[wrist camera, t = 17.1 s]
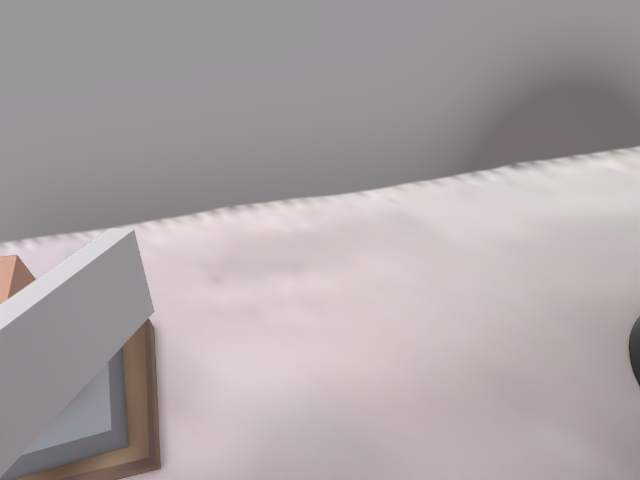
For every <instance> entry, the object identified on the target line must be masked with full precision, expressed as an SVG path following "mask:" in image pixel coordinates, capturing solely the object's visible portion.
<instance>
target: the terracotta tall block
mask: <svg viewBox="0 0 640 480" xmlns="http://www.w3.org/2000/svg"><path fill="white" fill-rule="evenodd" d="M35 280H36V279H35V278H34V276H33V275H32V274H31V272H30V271H29V270H28V268H27V267H26V266H25V265H24V263H23V262H22V261H21V259H20V258H19V257H18V256H17V255H11V256H2V257H0V304H2V303H3V302H5V301H6V300H8V299H9V298H10V297H12V296H13V295H15V294H16V293H18V292H19V291H20V290H22V289H23V288H25V287H26V286H28V285H29V284H31V283H32V282H33V281H35ZM70 403H71V402H70Z"/></svg>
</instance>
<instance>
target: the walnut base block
mask: <svg viewBox="0 0 640 480" xmlns="http://www.w3.org/2000/svg"><path fill="white" fill-rule="evenodd" d="M122 348H123V363H124V378H125V393H126V407H127V422H128V437H129V447H126V448H122V449H119V450H115V451H112V452H108V453H105V454H101V455H98V456H94V457H91V458H87V459H84V460H81V461H77V462H74V463H70V464H67V465H63V466H60V467H56V468H53V469H49V470H46V471H42V472H39V473H36V474H32V475H29V476H25V477H22V478H18V479H15V480H117V479H121V478H125V477H129V476H133V475H137V474H142V473H146V472H150V471H154V470H158V469H161V467H160V445H159V424H158V402H157V380H156V359H155V337H154V327H153V325H152V323H151V321H150V320H149V318H148V319H147V320H146V321H145V322H144V323H143V324H142V326H141V327H140V328H139V329H138V330H137V331H136V332H135V333H134V334H133V335H132V336H131V337H130V338H129V340H128V341H127V342H126V343H125V344H124V345H123V346H122Z"/></svg>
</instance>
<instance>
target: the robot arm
mask: <svg viewBox="0 0 640 480" xmlns="http://www.w3.org/2000/svg"><path fill="white" fill-rule="evenodd" d="M153 313H154V308H153V304H152V300H151V296H150V292H149V288H148V284H147V280H146V276H145V272H144V268H143V264H142V260H141V256H140V252H139V248H138V244H137V240H136V236H135V232H134V230H133V229H115V228H110V229H108V230H107V231H105V232H104V233H102V234H101V235H100V236H98V237H97V238H95V239H94V240H92V241H91V242H89V243H88V244H87V245H85V246H84V247H82V248H81V249H79V250H78V251H77V252H75V253H74V254H72V255H71V256H69V257H68V258H66V259H65V260H64V261H62V262H61V263H59V264H58V265H56V266H55V267H54V268H52V269H51V270H49V271H48V272H46V273H45V274H43V275H42V276H41V277H39V278H38V279H36V280H35V281H33V282H32V283H31V284H29V285H28V286H26V287H25V288H23V289H22V290H20V291H19V292H18V293H16V294H15V295H13V296H12V297H10V298H9V299H8V300H6V301H5V302H3V303H2V304H0V478H1V476H2V475H3V474H4V473H5V472H6V471H7V470H8V469H9V468H10V467H11V466H12V465H13V463H14V462H15V461H16V460H17V459H18V458H19V457H20V456H21V455H22V454H23V453H24V452H25V451H26V449H27V448H28V447H29V446H30V445H31V444H32V443H33V442H34V441H35V440H36V439H37V438H38V437H39V435H40V434H41V433H42V432H43V431H44V430H45V429H46V428H47V427H48V426H49V425H50V424H51V423H52V421H53V420H54V419H55V418H56V417H57V416H58V415H59V414H60V413H61V412H62V411H63V410H64V409H65V407H66V406H67V405H68V404H69V403H70V402H71V401H72V400H73V399H74V398H75V397H76V396H77V395H78V393H79V392H80V391H81V390H82V389H83V388H84V387H85V386H86V385H87V384H88V383H89V382H90V380H91V379H92V378H93V377H94V376H95V375H96V374H97V373H98V372H99V371H100V370H101V369H102V368H103V366H104V365H105V364H106V363H107V362H108V361H109V360H110V359H111V358H112V357H113V356H114V355H115V354H116V352H117V351H118V350H119V349H120V348H121V347H122V346H123V345H124V344H125V343H126V342H127V341H128V340H129V338H130V337H131V336H132V335H133V334H134V333H135V332H136V331H137V330H138V329H139V328H140V327H141V326H142V324H143V323H144V322H145V321H146V320H147V319H148V318H149V317H150V316H151V315H152V314H153ZM630 356H631V362H632V365H633V369H634V372H635V374H636V377H637V379H638V381H639V383H640V317H639V318H638V319H637V321H636V323H635V325H634V327H633V329H632V332H631V336H630Z"/></svg>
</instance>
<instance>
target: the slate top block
mask: <svg viewBox="0 0 640 480" xmlns="http://www.w3.org/2000/svg"><path fill="white" fill-rule="evenodd" d="M126 447H129V437H128V422H127V407H126V393H125V378H124V363H123V348H122V347H121V348H120V349H119V350H118V351H117V352H116V354H115V355H114V356H113V357H112V358H111V359H110V360H109V361H108V362H107V363H106V364H105V365H104V366H103V368H102V369H101V370H100V371H99V372H98V373H97V374H96V375H95V376H94V377H93V378H92V379H91V380H90V382H89V383H88V384H87V385H86V386H85V387H84V388H83V389H82V390H81V391H80V392H79V393H78V395H77V396H76V397H75V398H74V399H73V400H72V401H71V403H69V404H68V405H67V406H66V407H65V409H64V410H63V411H62V412H61V413H60V414H59V415H58V416H57V417H56V418H55V419H54V420H53V421H52V423H51V424H50V425H49V426H48V427H47V428H46V429H45V430H44V431H43V432H42V433H41V434H40V435H39V437H38V438H37V439H36V440H35V441H34V442H33V443H32V444H31V445H30V446H29V447H28V448H27V449H26V451H25V452H24V453H23V454H22V455H21V456H20V457H19V458H18V459H17V460H16V461H15V462H14V463H13V465H12V466H11V467H10V468H9V469H8V470H7V471H6V472H5V473H4V474H3V475H2V476H1V478H0V480H15V479H18V478H22V477H25V476H29V475H32V474H36V473H39V472H42V471H46V470H49V469H53V468H56V467H60V466H63V465H67V464H70V463H74V462H77V461H81V460H84V459H87V458H91V457H94V456H98V455H101V454H105V453H108V452H112V451H115V450H119V449H122V448H126Z"/></svg>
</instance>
